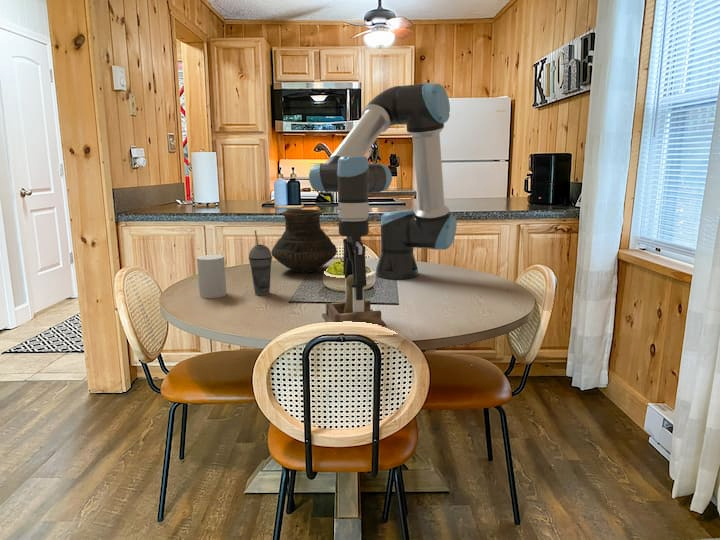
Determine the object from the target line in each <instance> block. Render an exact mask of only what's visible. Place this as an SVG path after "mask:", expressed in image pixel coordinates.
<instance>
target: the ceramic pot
mask: <svg viewBox="0 0 720 540" xmlns="http://www.w3.org/2000/svg"><path fill="white" fill-rule="evenodd" d="M323 213H324V212H323V211H322V210H320V209H312V208H311V209H309V208H308V209H290V210H289V209H288V210H284V211H282V212H281V215H283V217H284V221H285V223H284V224H285V226H284V227H285V230H284V232H283V234H282V235H281V237H280V238H279V239H278V240H277V241H276V243H275V244H274V245H273V247H272V249H271V250H270V252H271V255H272V258H274V259H275V260H277V262H279V263H280V264H281V265H283V266H284V267H286V268H288V269H289V270H291V271H294V272H296V273H312V272H316V271H318V270H319V269H320V268H322V267H323V266H325V265H326V264H327V263H328V262H330V261H331V260H333V258H334V257H336V255H337V253H338V250H337V247H336V245H335V244H334V243H333V242H332V240H331V238H330V237H329V236H328V235H326V232H324V230H323V229H322V228H321V222H320V221H321V220H320V219H321V215H322V214H323Z"/></svg>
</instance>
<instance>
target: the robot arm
mask: <svg viewBox="0 0 720 540" xmlns="http://www.w3.org/2000/svg"><path fill="white" fill-rule="evenodd" d="M450 105H451V104H450V100H449V95H448V93H447V91H446V89H445V87H444V86H443V85H441V84H440V83H434V82H433V83H431V82H430V83H429V82H427V83H418V84H417V83H416V84H408V85H406V84H405V85H396V86H392V87H389V88H387V89H385V90H383V91H381V92H380V93H378V94H377V95H376V96H375V97H373V99H371V100H370V101H369V102H368V103H367V104H366V105H365V106H364V108H363V110H362V112H361V117H360V118H359V119H358V121H357V122H356V124H355V125H353V127H352V128H351V130H350V131H349V133H348V134H347V135H346V136H345V138H344V139H342V142H341V143H340V144H339V145H338V147H337V148H336V149H335V151H333V153H332V154H331V155H330V157H329V158H328V159H327V160H326V162H325V163H317V164H314V165H313V166H311V167H310V170H309V173H308V181H309V184H310V187H311V188H312V189H313V190H315V191H317V192H325V193H337V194H338V195H337V196H338V199H337V200H338V201H337V203H338V204H337V205H338V206H336V207H335V208H336V210H337V211H338V218H339V219H340V220H338V234H339V236H342V237H346V238H343V239H342V243H343V264H342V265H343V267H342V268H343V269H342V274H343V276H344V278H345V279H344V284H345V285H344V286H345V298H346V297H347V291H348V286H347V283H346V279H347V277H348V276H349V275H352V274H353V281H354V285H351V288H353V312H364V295H365V287H366V286H367V269H366V246H365V245H364V242H362V237H365V236H367V235H368V234H369V230H370V229H369V220H368V219H369V217H370V216H369V215H370V214H369V212H370V211H369V207H370V206H369V205H370V204H369V194H374V193H377V194H379V193H381V192H385V191H386V190H387V189H389V188H390V186H391V184H392V180H393V177H392V172H391V169H390V168H389V167H388V166H387V165H385V164H383V163H378V162H375V163H369V159H368V158H367V157H366V154H367V152H368V151H369V150H370V149H371V147H372V146H373V144H374V143H375V142H376V140H377V139H378V137H380V135H381V133H384V132H387V130H388V129H389V128H390V127H393V126H398V125H406V132H407V133H408V134H409V135H410V136H411V138H412V145H413V147H412V148H413V156H414V157H413V159H414V171H415V180H416V190H417V200H418V201H417V202H418V204H417V205H418V208H417V209H416V210H415V211H414V209H403V210H394V211H388V212H384V213H383V214H381V217H380V255H379V258H378V262H377V265H376V268H375V275H376V276H377V277H378V278H383V279H387V280H405V279H406V280H407V279H412V278H415V277H418V276H419V269H418V268H419V267H418V265H417V262H416V261H417V260H416V259H415V255H414V248H415V249H427V250H435V251H437V250H441V251H442V250H444V251H445V250H448V249H449V248H450V247H451V246H452V244H453V242H454V240H455V238H456V237H455V236H456V233H457V226H458V225H457V221H458V220H457V218H456V217H455V216H454V215H451V214H450V212H451V211H450V208H449V207H448V206H447V205H445V194H444V193H445V192H444V180H443V179H444V178H443V166H442V165H443V164H442V163H443V162H442V151H441V150H442V149H441V132H442V130H443V129H444V128H445V123H447V122H448V121H449V119H450V111H451V107H450ZM359 281H361V282H359ZM364 286H365V287H364Z"/></svg>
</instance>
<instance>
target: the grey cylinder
mask: <svg viewBox="0 0 720 540" xmlns="http://www.w3.org/2000/svg"><path fill="white" fill-rule="evenodd" d="M196 264H197V265H196V266H197V267H196V268H197V277H198V292H199V297H200V298H204V299H216V298H221V297H225V296H226V295H227V282H226V280H227V279H226V267H225V256H224V255H222V254H206V255H201V256H200V255H199V256H197V257H196Z"/></svg>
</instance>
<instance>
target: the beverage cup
mask: <svg viewBox="0 0 720 540" xmlns="http://www.w3.org/2000/svg"><path fill="white" fill-rule="evenodd" d="M257 233H258V232H257V230H256V229H255V230H254V236H255V240H256V241H255V242H256V245H254V246H253V247H251V249H250V250H249V253H248V261H249V265H250V270H251V275H252V276H251V277H252V285H253V289H254V294H255V295H256V296H266V295H269V294H270V291H271V290H270V289H271V274H272V273H271V271H272V270H271V269H272V259H273V256H272V253H271V249H270V248H269V247H268V246H266V245H265V244H259V240H258V234H257Z"/></svg>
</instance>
